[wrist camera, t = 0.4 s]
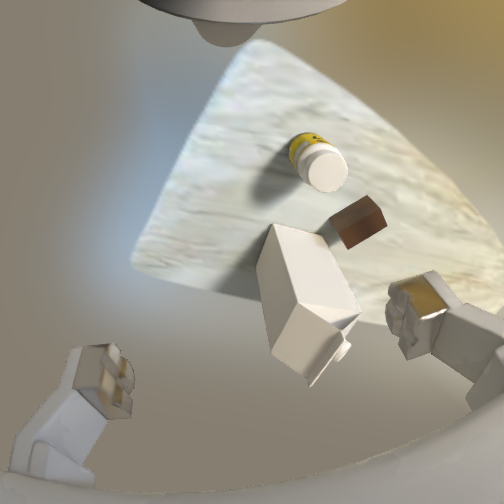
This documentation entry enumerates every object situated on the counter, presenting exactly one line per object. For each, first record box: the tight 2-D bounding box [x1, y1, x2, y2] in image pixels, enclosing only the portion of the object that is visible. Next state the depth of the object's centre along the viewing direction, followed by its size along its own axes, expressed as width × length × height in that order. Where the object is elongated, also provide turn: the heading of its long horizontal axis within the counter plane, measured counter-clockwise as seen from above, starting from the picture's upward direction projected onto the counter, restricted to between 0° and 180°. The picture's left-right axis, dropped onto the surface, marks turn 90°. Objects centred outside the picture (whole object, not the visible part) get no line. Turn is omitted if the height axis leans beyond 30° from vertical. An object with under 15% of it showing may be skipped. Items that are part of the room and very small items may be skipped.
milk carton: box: [256, 223, 362, 387], centre depth 34 cm, size 7×7×19 cm
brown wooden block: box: [329, 195, 387, 250], centre depth 38 cm, size 6×3×4 cm, turn 123°
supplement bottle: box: [287, 132, 348, 193], centre depth 31 cm, size 5×5×8 cm
